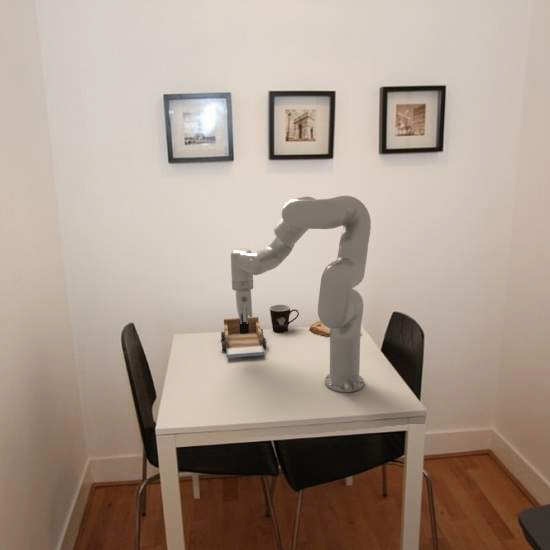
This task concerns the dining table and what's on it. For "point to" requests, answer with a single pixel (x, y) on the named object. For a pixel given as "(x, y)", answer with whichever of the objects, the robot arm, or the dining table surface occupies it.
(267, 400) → the dining table surface
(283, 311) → the coffee mug
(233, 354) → the panel
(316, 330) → the bread slice
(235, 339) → the truck bed
